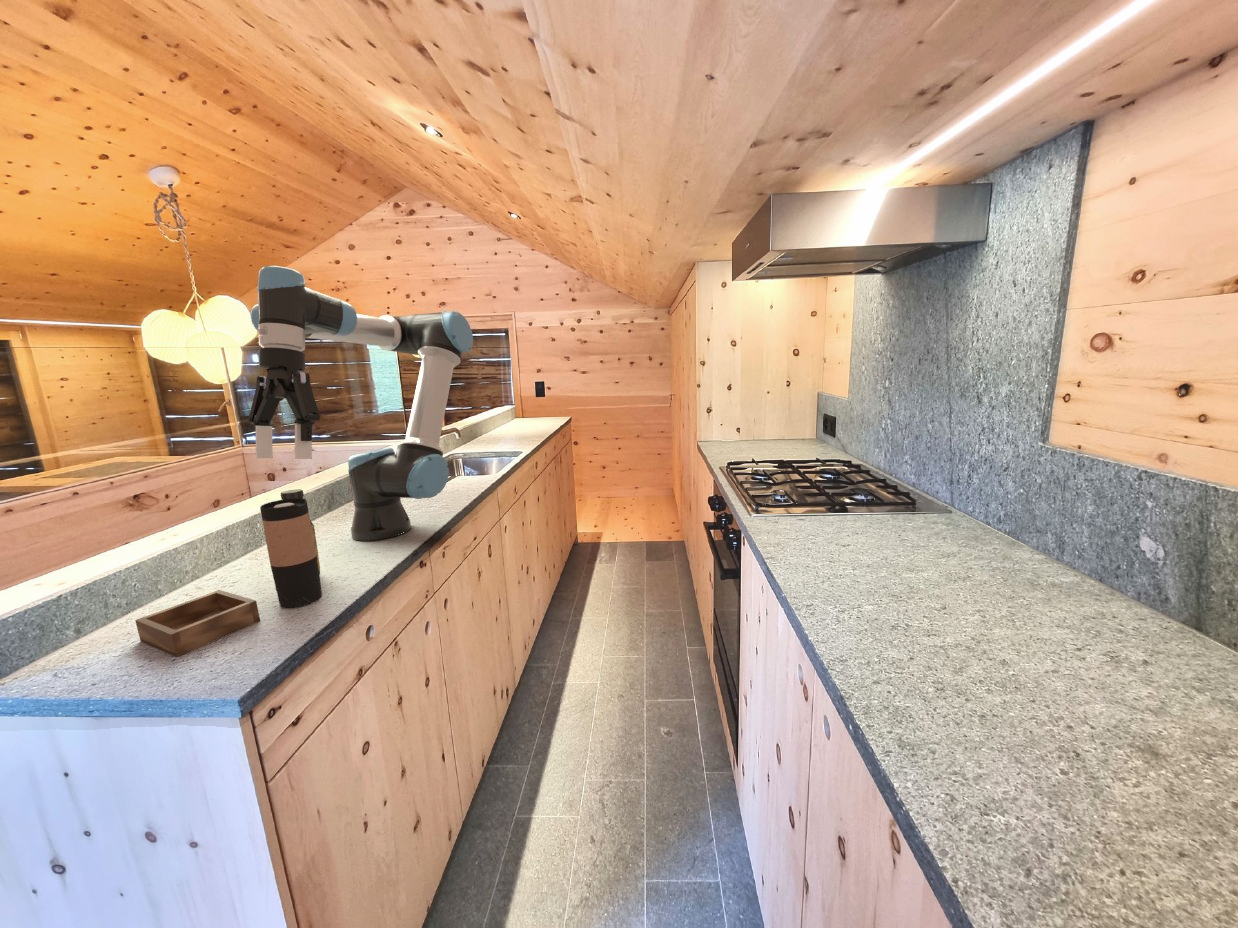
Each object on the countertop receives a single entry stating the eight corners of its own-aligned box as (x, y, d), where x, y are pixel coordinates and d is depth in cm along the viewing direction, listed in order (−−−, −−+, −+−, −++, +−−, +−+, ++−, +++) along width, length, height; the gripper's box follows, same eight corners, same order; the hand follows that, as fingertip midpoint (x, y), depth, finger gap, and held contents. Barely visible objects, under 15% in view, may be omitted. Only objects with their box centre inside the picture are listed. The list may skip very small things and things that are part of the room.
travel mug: (276, 600, 99) (257, 503, 95) (319, 588, 104) (303, 495, 100) (281, 613, 93) (261, 511, 90) (327, 600, 98) (310, 502, 94)
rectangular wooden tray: (223, 609, 97) (219, 589, 96) (260, 620, 91) (256, 600, 90) (140, 641, 86) (135, 620, 85) (176, 657, 80) (171, 634, 79)
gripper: (227, 352, 100) (228, 458, 100) (299, 339, 88) (300, 459, 89) (268, 358, 106) (268, 457, 107) (340, 347, 95) (341, 459, 95)
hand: (283, 458), depth 98 cm, fingers open, 13 cm apart
